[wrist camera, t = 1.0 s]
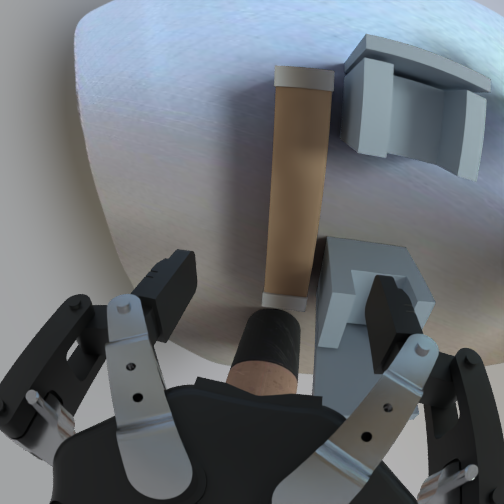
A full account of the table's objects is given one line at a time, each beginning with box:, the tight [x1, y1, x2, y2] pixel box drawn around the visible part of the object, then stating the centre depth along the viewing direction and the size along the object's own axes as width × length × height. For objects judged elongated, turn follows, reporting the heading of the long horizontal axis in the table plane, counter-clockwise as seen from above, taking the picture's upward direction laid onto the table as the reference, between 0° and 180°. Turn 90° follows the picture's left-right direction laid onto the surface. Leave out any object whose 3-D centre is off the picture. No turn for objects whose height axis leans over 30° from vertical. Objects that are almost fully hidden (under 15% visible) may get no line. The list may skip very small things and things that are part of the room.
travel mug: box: [226, 309, 300, 396], centre depth 26 cm, size 8×8×20 cm
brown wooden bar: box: [262, 66, 335, 312], centre depth 23 cm, size 4×21×6 cm, turn 178°
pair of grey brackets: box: [312, 34, 491, 420], centre depth 17 cm, size 9×25×16 cm, turn 178°
